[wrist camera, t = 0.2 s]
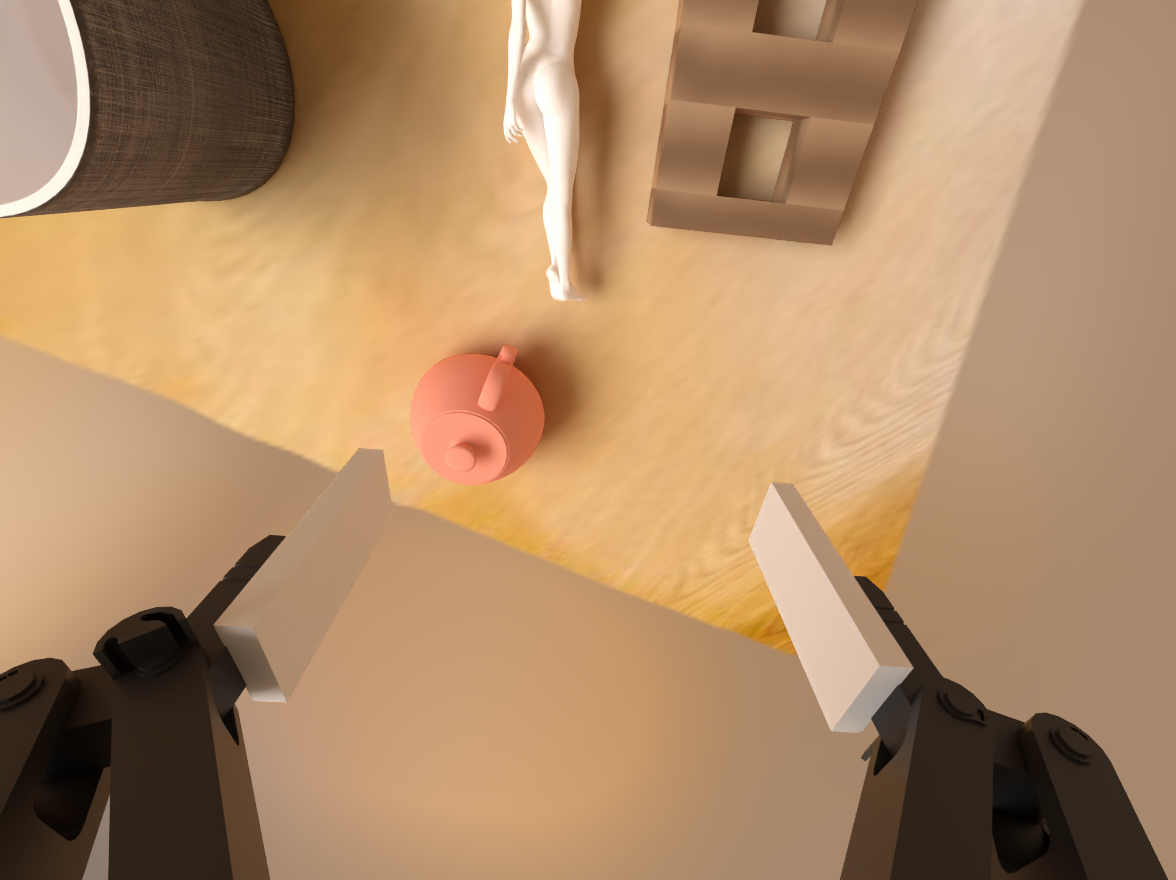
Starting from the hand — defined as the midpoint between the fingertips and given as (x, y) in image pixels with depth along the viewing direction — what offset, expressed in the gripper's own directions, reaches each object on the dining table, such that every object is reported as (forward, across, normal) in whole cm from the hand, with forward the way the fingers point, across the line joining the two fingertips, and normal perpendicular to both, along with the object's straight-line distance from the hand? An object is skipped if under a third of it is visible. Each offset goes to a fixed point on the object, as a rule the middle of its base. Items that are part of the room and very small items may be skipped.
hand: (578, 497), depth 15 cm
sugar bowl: (+28, -8, -10) cm, 31 cm away
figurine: (+28, -3, +13) cm, 31 cm away
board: (+28, +11, +17) cm, 34 cm away
